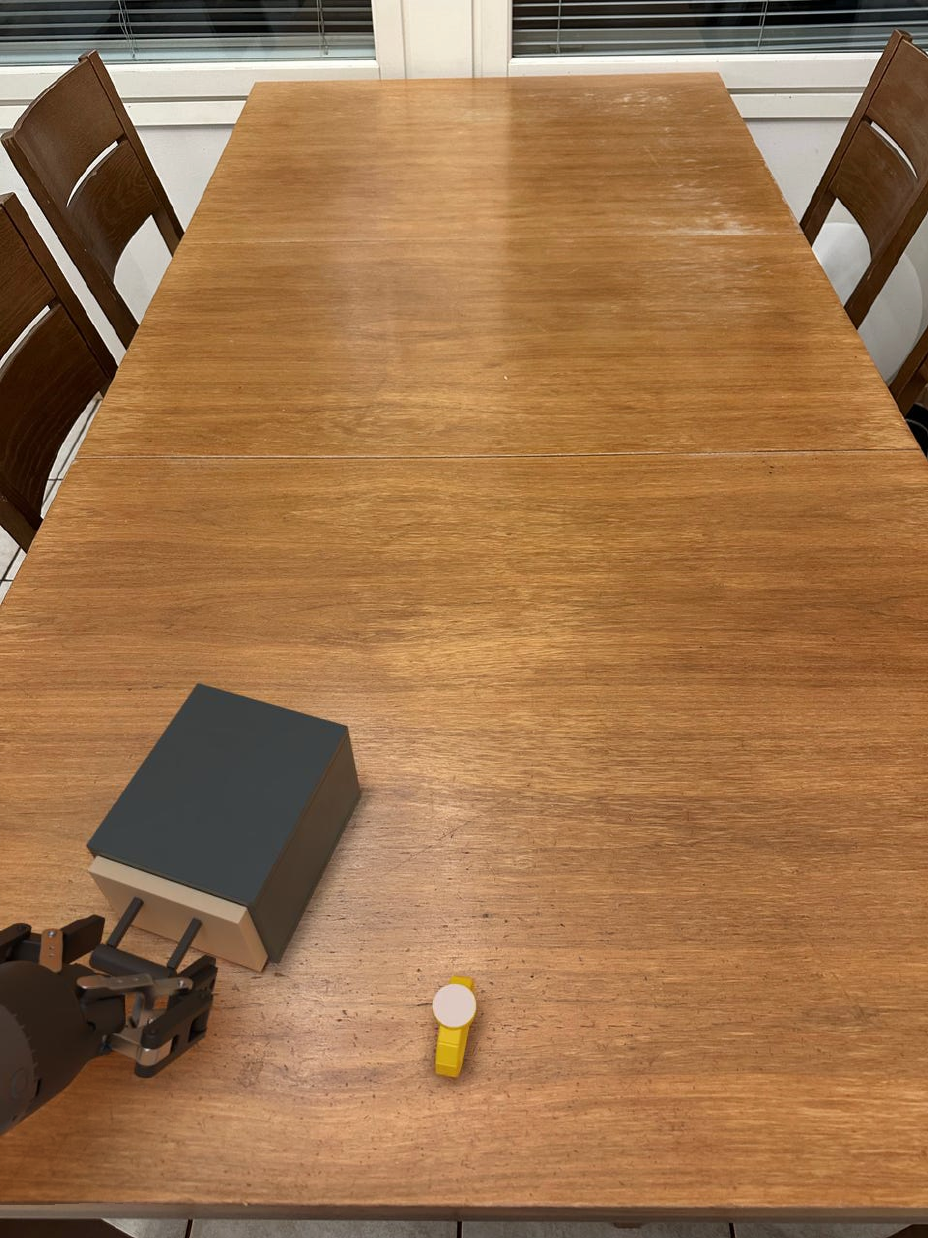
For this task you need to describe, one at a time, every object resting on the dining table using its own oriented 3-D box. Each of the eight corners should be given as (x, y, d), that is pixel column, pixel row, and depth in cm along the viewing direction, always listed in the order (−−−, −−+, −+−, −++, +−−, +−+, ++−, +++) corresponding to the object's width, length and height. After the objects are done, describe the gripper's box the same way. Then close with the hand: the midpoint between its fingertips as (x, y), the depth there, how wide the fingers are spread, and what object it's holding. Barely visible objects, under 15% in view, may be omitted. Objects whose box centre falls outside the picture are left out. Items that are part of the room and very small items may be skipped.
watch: (468, 1091, 61) (466, 1062, 57) (426, 1083, 62) (421, 1053, 57) (484, 999, 65) (484, 965, 61) (445, 992, 65) (442, 957, 61)
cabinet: (278, 964, 67) (252, 903, 60) (126, 909, 70) (85, 845, 63) (361, 795, 76) (348, 725, 69) (224, 753, 79) (197, 682, 72)
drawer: (225, 1043, 63) (197, 999, 57) (80, 986, 65) (40, 939, 60) (341, 811, 74) (328, 755, 68) (214, 771, 77) (191, 714, 71)
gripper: (-162, 1088, 48) (52, 968, 64) (72, 1194, 45) (238, 1039, 61) (-137, 950, 48) (73, 862, 64) (102, 1047, 44) (261, 929, 60)
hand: (153, 949), depth 62 cm, fingers open, 8 cm apart
